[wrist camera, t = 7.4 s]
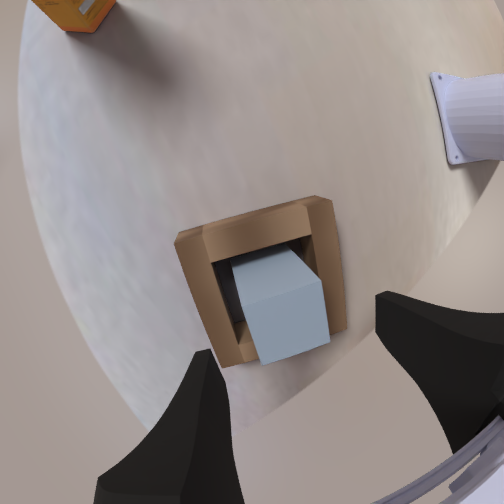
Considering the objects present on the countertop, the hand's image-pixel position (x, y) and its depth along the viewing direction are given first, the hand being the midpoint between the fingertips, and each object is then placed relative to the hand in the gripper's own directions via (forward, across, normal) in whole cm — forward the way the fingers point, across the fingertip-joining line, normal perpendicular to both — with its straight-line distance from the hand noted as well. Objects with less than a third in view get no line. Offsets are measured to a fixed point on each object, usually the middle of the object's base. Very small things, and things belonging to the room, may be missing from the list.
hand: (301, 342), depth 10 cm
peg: (+7, 0, 0) cm, 7 cm away
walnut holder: (+7, 0, 0) cm, 7 cm away
